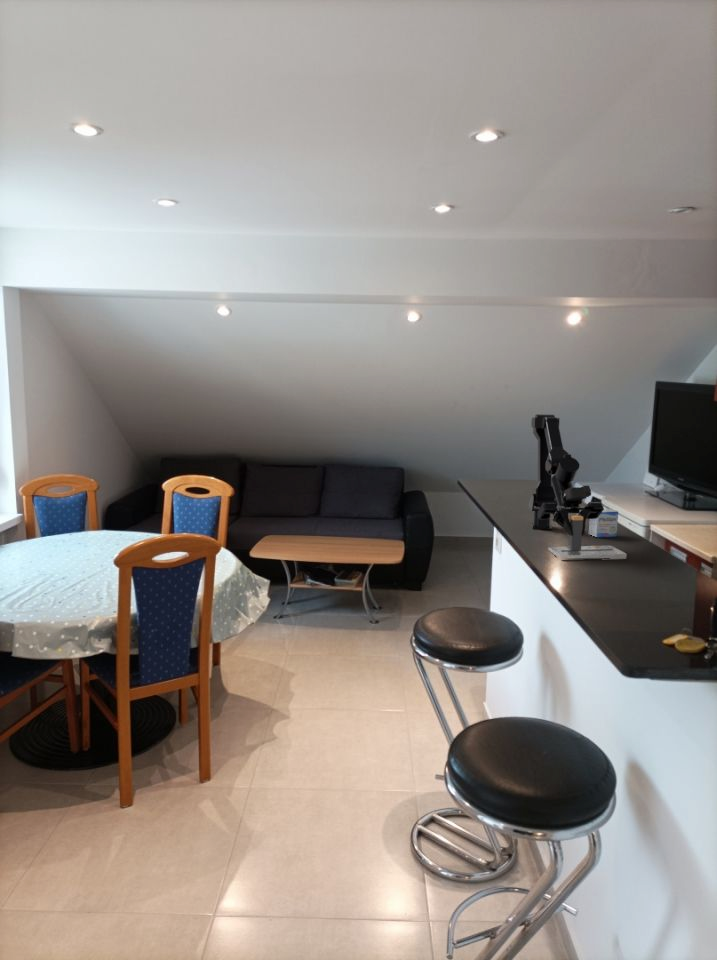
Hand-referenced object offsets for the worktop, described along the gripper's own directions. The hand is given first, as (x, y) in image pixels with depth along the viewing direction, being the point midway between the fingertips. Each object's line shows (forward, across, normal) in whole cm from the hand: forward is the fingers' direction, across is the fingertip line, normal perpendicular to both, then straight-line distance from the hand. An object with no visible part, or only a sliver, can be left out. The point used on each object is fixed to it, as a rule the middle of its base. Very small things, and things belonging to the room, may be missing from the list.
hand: (577, 535), depth 190 cm
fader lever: (+2, 0, +4) cm, 5 cm away
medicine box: (-11, +20, +21) cm, 31 cm away
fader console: (+4, +4, +6) cm, 8 cm away
